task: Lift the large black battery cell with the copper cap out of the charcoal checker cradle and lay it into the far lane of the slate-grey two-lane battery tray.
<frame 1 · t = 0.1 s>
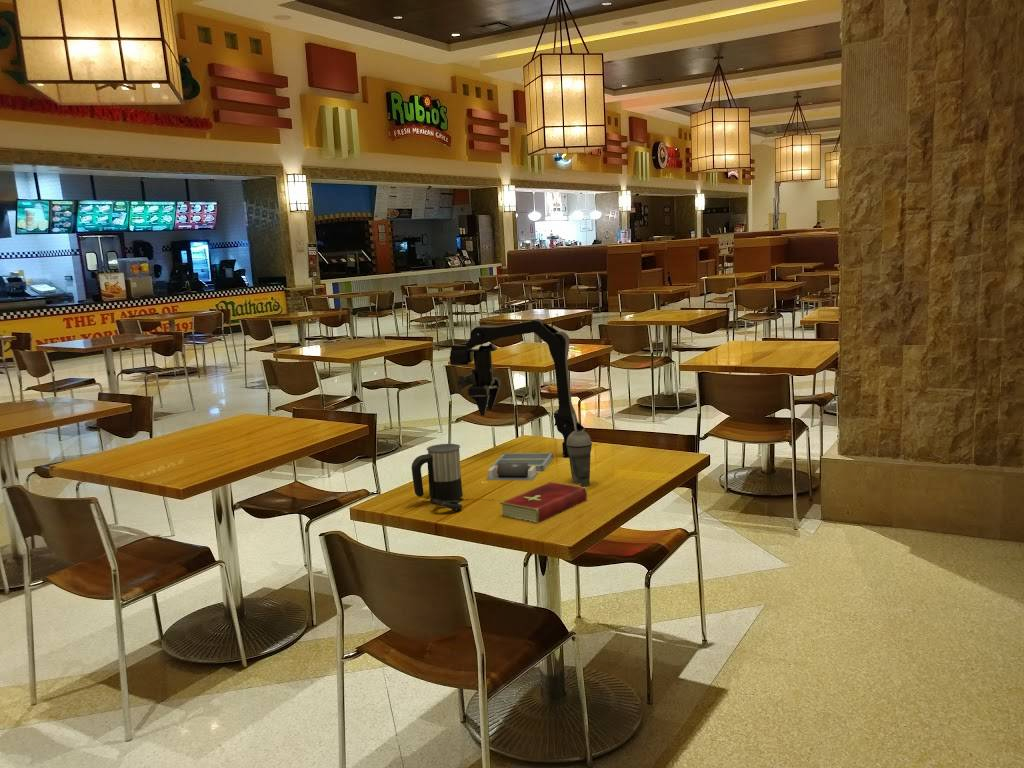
hand: (486, 412, 269), 15 cm above the table, tool pointing down, fingers open, 9 cm apart
hardcover book: (545, 510, 214), on the table
beverage cup: (581, 485, 233), on the table
battery cell: (512, 476, 242), point 1 cm above the table, touching checker cradle
milk frother: (448, 505, 223), on the table
cell tray: (523, 467, 255), on the table
checker cradle: (512, 479, 242), on the table
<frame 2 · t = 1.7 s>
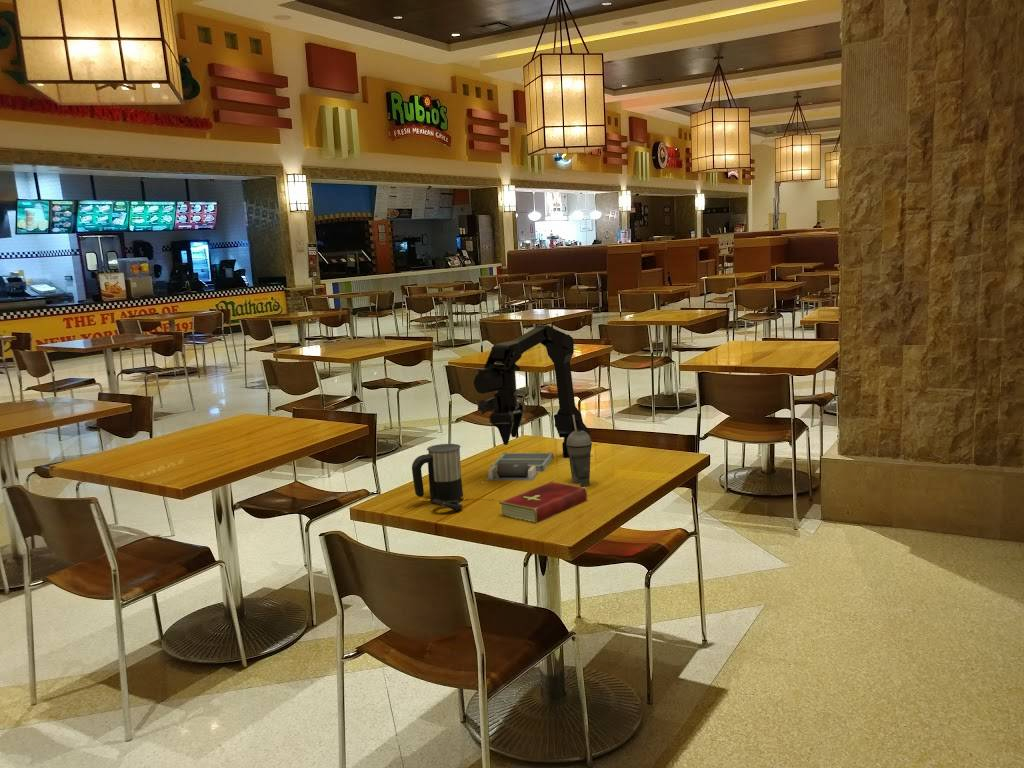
hand: (509, 440, 240), 12 cm above the table, tool pointing down, fingers open, 9 cm apart
nothing on the table moved.
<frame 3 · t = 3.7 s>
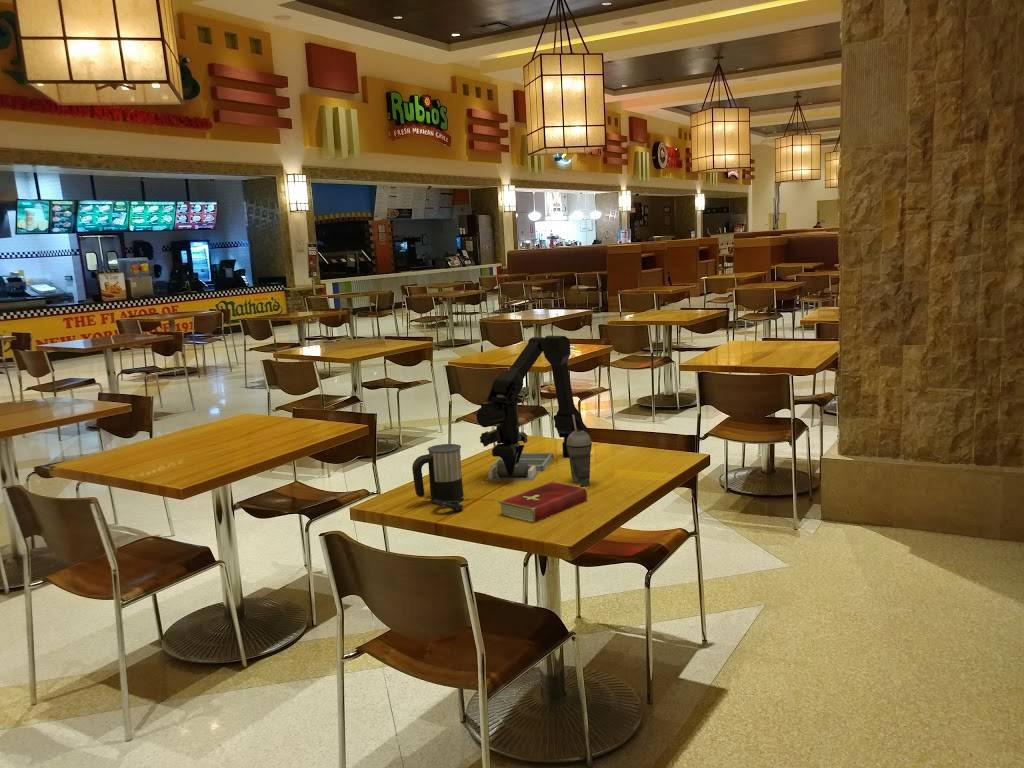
hand: (512, 472, 242), 2 cm above the table, tool pointing down, fingers closed on battery cell, 4 cm apart
battery cell: (512, 476, 242), point 1 cm above the table, touching checker cradle, gripper
everything else where it was.
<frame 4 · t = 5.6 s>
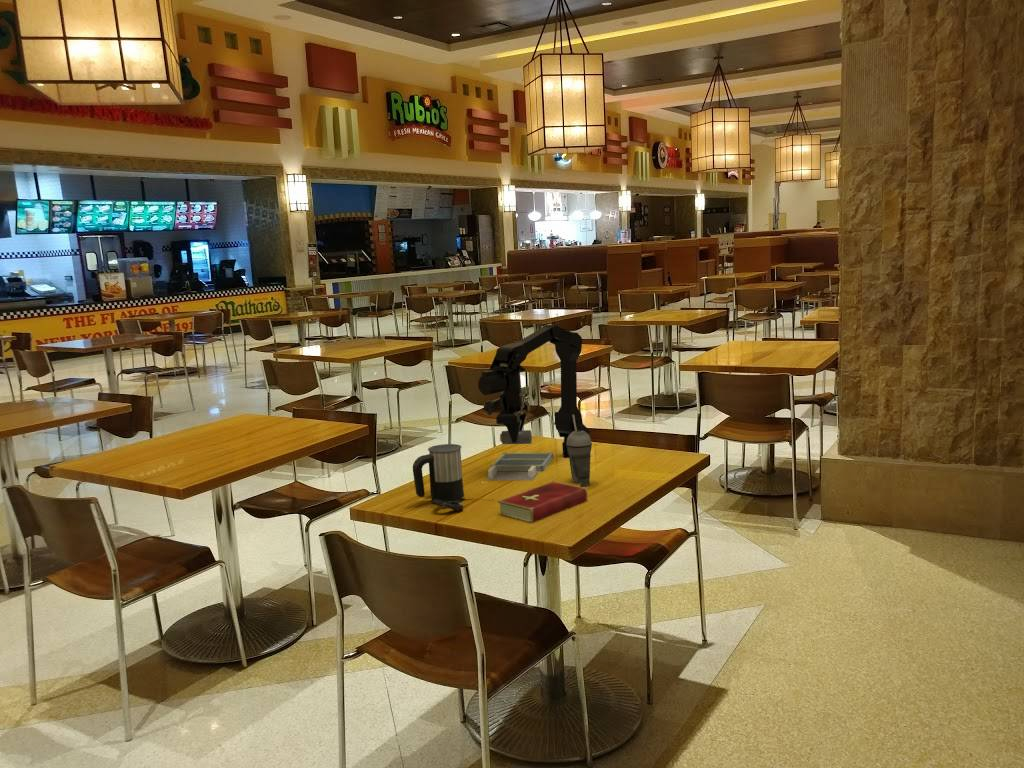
hand: (515, 440, 246), 10 cm above the table, tool pointing down, fingers closed on battery cell, 4 cm apart
battery cell: (516, 443, 246), point 9 cm above the table, touching gripper
everything else where it was.
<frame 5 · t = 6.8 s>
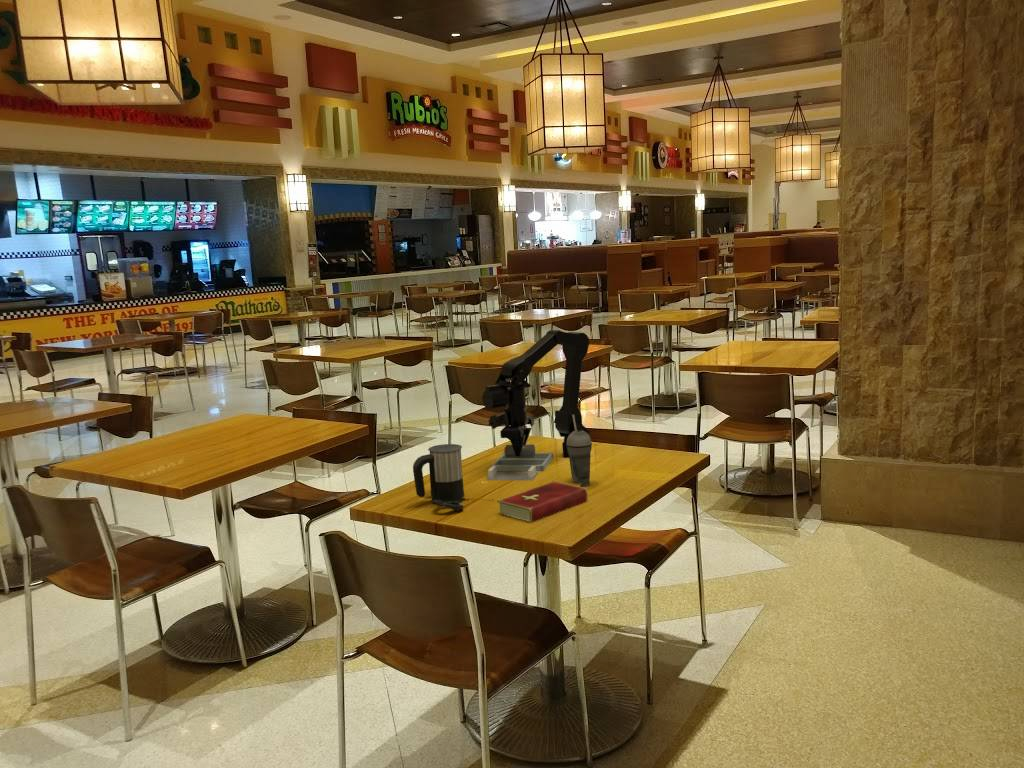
hand: (519, 454, 251), 5 cm above the table, tool pointing down, fingers closed on battery cell, 4 cm apart
battery cell: (519, 457, 251), point 4 cm above the table, touching gripper
everything else where it was.
when the fingers open (3 cm above the table, at t = 7.8 s): battery cell drops 2 cm, resting on cell tray.
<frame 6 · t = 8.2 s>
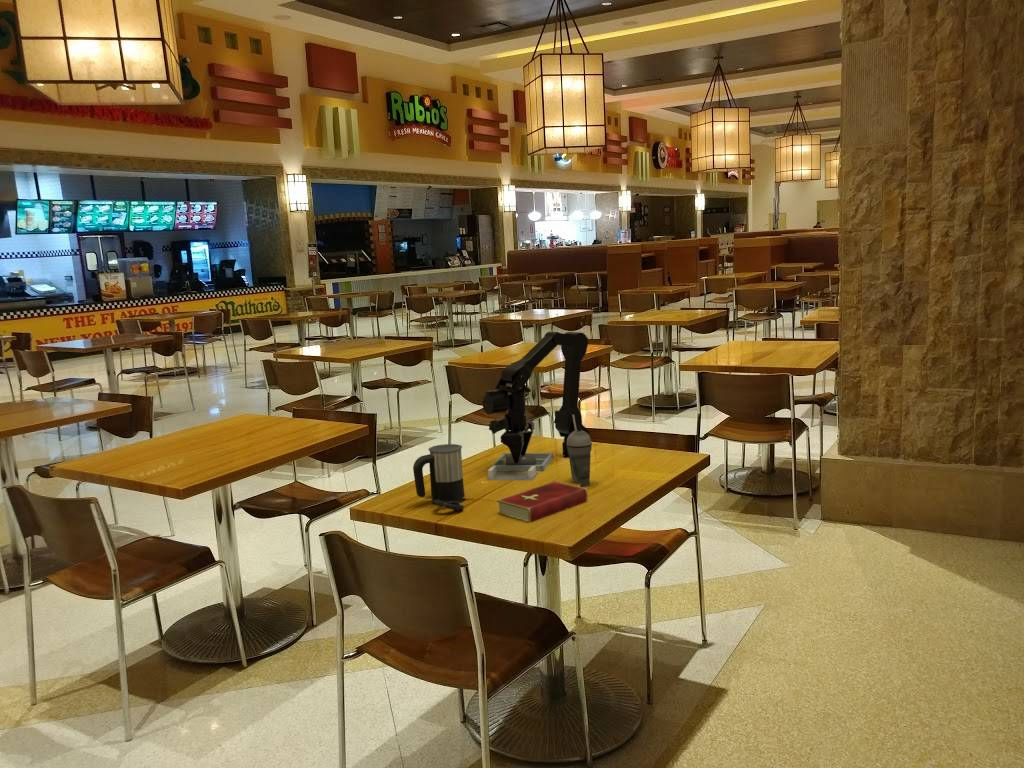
hand: (519, 459, 251), 3 cm above the table, tool pointing down, fingers open, 8 cm apart
battery cell: (520, 468, 252), point 1 cm above the table, touching cell tray
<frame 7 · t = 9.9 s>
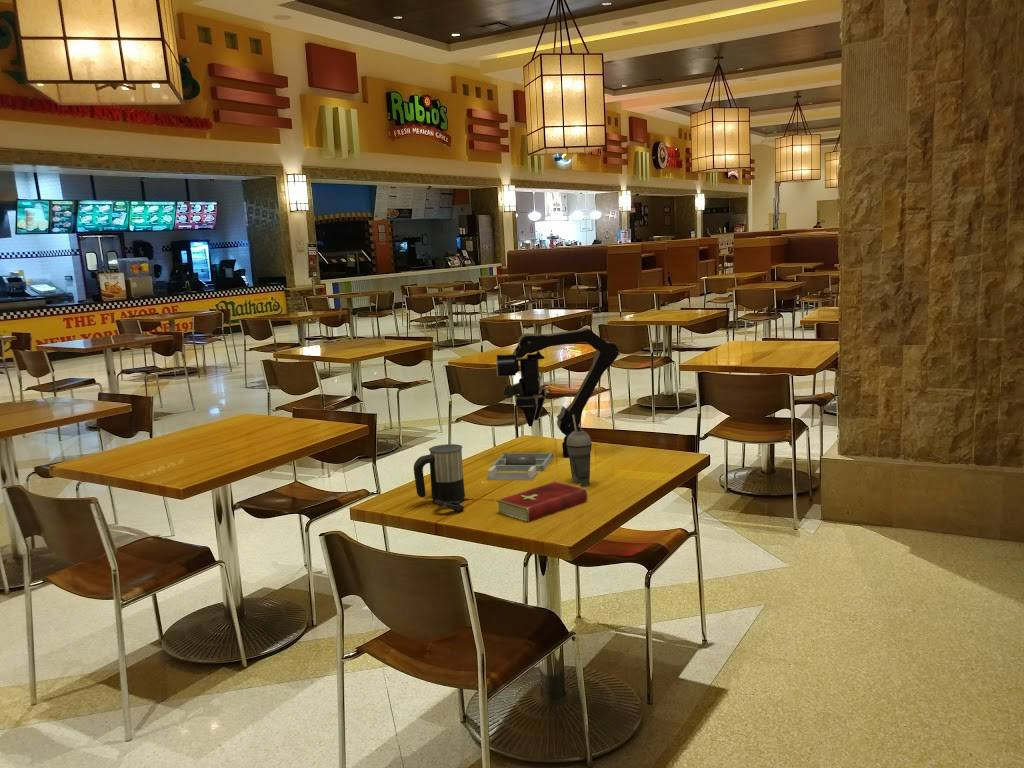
hand: (533, 423, 261), 12 cm above the table, tool pointing down, fingers open, 9 cm apart
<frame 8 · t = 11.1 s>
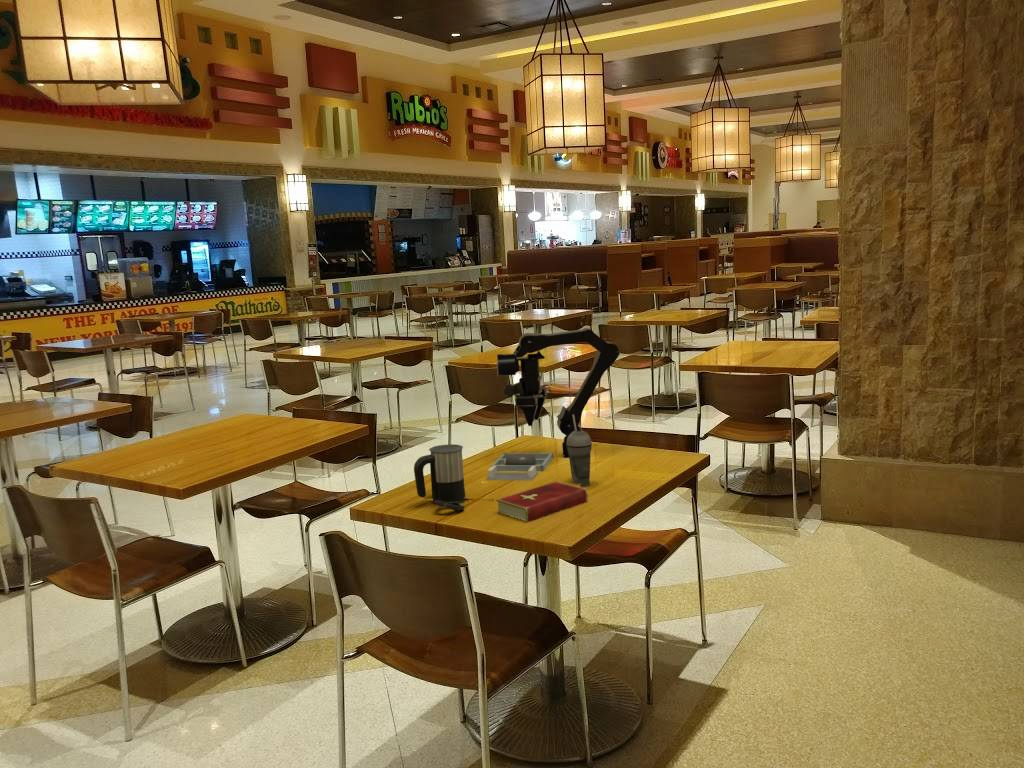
hand: (533, 422, 261), 12 cm above the table, tool pointing down, fingers open, 9 cm apart
at the end: battery cell inside the target area on the cell tray (0.1 cm from its centre), point 0.6 cm above the cell tray's base; the gripper is holding nothing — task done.
